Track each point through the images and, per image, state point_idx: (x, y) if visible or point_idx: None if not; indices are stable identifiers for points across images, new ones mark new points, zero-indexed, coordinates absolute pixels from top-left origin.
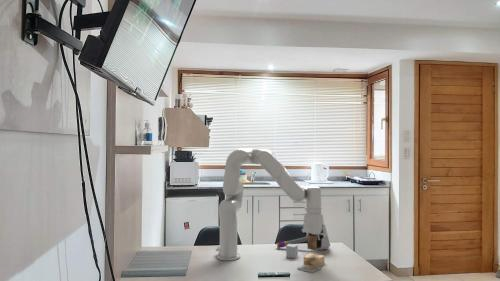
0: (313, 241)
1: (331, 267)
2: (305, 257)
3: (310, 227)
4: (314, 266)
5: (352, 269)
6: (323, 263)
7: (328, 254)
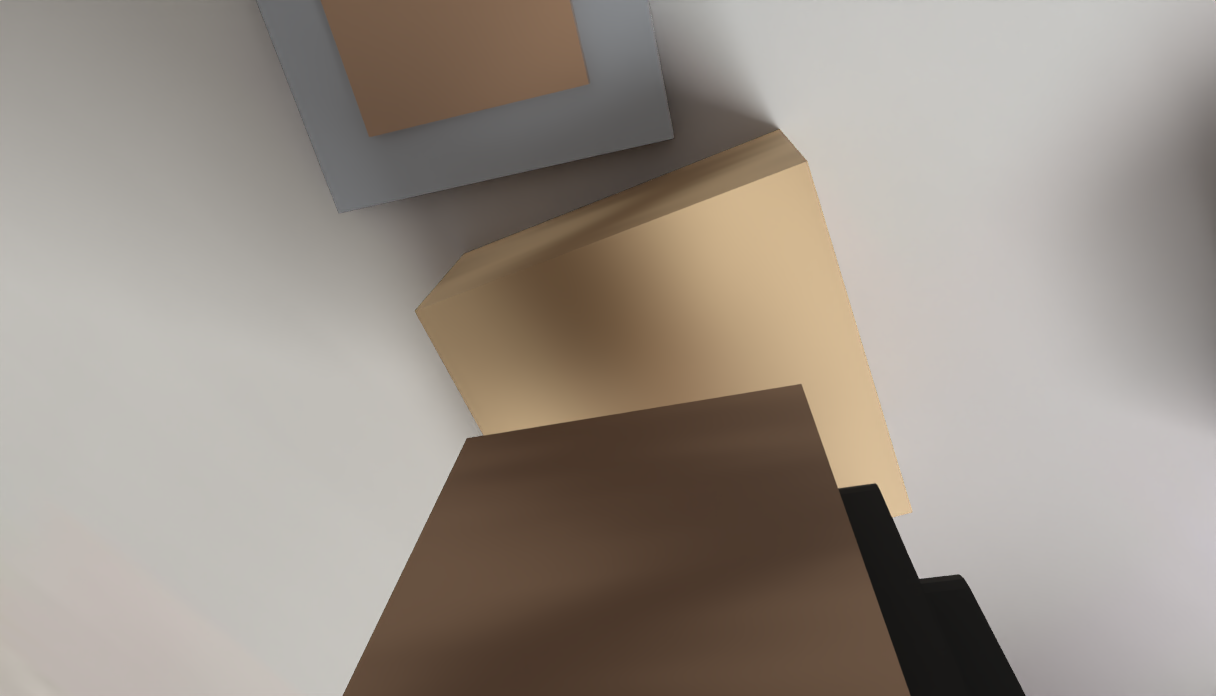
0: (486, 650)
1: (335, 417)
2: (749, 184)
3: None
4: (461, 161)
5: (131, 570)
6: None
7: None
